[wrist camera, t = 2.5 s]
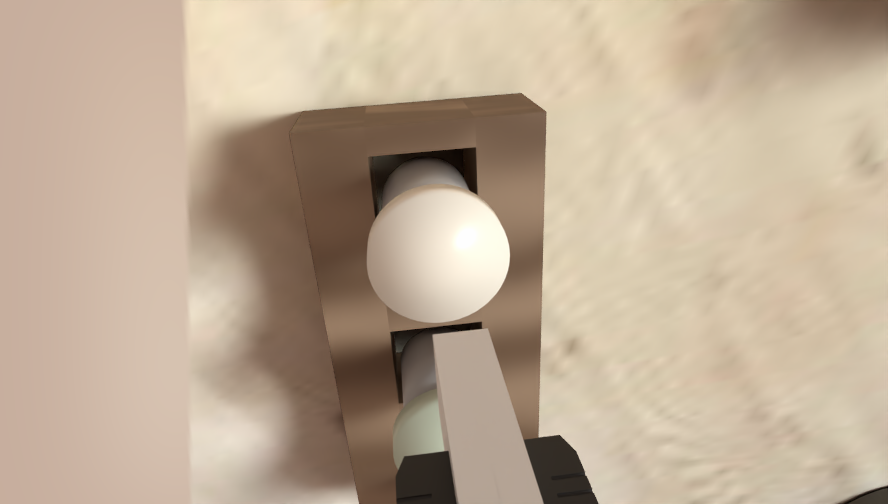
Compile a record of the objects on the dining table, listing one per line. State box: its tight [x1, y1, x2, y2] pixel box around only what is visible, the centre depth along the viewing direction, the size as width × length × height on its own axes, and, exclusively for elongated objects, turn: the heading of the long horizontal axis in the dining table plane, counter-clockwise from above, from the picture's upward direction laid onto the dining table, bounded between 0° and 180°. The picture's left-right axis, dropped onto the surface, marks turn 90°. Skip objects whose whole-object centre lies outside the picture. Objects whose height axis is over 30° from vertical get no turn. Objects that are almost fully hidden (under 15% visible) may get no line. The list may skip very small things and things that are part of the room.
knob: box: [367, 157, 510, 323], centre depth 24 cm, size 6×6×7 cm
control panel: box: [289, 93, 546, 504], centre depth 33 cm, size 28×12×5 cm, turn 3°
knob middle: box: [393, 327, 459, 470], centre depth 29 cm, size 6×6×7 cm
